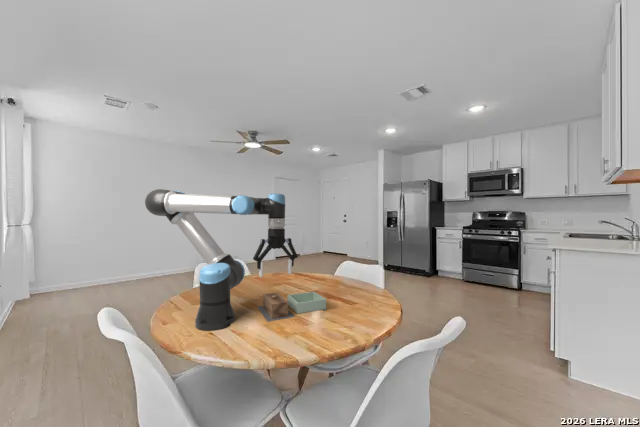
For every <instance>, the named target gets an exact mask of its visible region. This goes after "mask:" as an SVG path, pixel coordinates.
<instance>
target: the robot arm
mask: <svg viewBox="0 0 640 427" xmlns="http://www.w3.org/2000/svg"><path fill="white" fill-rule="evenodd" d="M144 204H145V207H146V210H147V211H148V212H149V213H151V214H152V215H155V216H157V217H158V216H159V217H166V218H167V219H168V221H169V223H170V224H171V225H176V226H178V228H179V229H180V230H181V232H182V233H183V235H185V237H186V238H187V240H188V241H189V242H190V243H191V244H192V246H193V247H194V249H195V250H196V251H197V253H198V254H200V257H202V259H203V260H204V261H205V262H206V264H207V265H204V266H202V267H201V269H200V271H199V278H198V280H199V308H198V310H197V314H196V316H195V320H194V327H195V328H197V329H198V330H200V331H215V330H221V329H224V328H227V327H229V326H231V324H232V323H234V322H235V319H236V316H235V314H236V313H235V312H234V309H233V305H232V303H231V290H232V289H233V288H235V287H237V286H239V285H240V284H241V282H242V281H243V280H244V278H245V273H246V271H245V267H244V265H243V263H241V261H239V260H236V259H234V258H233V256H232V255H231V254H229V253H225V252H224V251H223V250H222V248H221V247H220V245H219V244H218V242H217V241H216V240H215V239H214V237H212V236H211V233H209V231H208V230H207V229H206V227H205V226H204V225H203V224H202V222H201V221H200V220H199V218H198V217H197V216H196V215H195V214H198V213H199V214H222V215H223V214H226V215H240V216H247V215H250V216H251V215H259V216H260V215H266V216H267V217H268V219H267V227H268V228H267V239H264V238H261V239H260V243H259V246H258V248H257V249H256V252H255V254H254V255H253V257H252V259H253V260H254V261H255V262H256V266H257V268H256V269H258V272H259V273H258V274H259V275H258V276H259V277H260V278H263V277H264V273H263V272H264V262H263V261H262V260H264V258H265V257H266V255H268V253H269V252H270V251H271V250H272V249H273V250H275V249H280V250H281V249H282V251H283V252H284V253H285V254H286V255H287V258H288V259H287V261H288V262H287V274H289V275H292V274H293V269H292V268H293V267H294V265H295V264H294V262H295V259H297V258H298V253H297V252H296V249H295V247H294V246H293V242H292V238H290V237H288V238H285V236H286V229H285V227H286V196H285V194H284V193H269V194H268V197H265V198H264V197H253V196H248V195H244V194H243V195H226V194H225V195H222V194H221V195H220V194H216V195H215V194H194V193H192V194H190V193H184V192H182V191H179V190H168V189H163V188H162V189H160V188H159V189H158V188H157V189H154V190H152V191H150V192H148V194H147V195H146V197H145V200H144ZM266 243H267V246H266V248H265V249H264V247H265V245H266ZM286 243H287V246H288V247H289V250H290V251H289V250H288V248H287V247H286V246H285V244H286ZM263 249H264V250H263ZM262 251H263V252H262Z"/></svg>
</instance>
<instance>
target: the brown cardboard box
mask: <svg viewBox="0 0 640 427" xmlns="http://www.w3.org/2000/svg"><path fill="white" fill-rule="evenodd" d="M262 302H263V303H262V306H263V307H264V309H265V310H266V311H267V313H268V314H269V315H270V317H271V318H272V319H275V318H281V317H286V316H288V310H289V305H288V301H287V299H285V298H284V297H283V296H282V295H281V294H280V293H279V292H271V293H263V294H262Z"/></svg>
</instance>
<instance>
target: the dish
mask: <svg viewBox="0 0 640 427" xmlns="http://www.w3.org/2000/svg"><path fill="white" fill-rule="evenodd" d="M286 297H287V299H286V301H288V307H289V308H290V309H292V310H293V311H294V312H295V313H296V314H297V315H298V314H299V315H300V314H304V313H310V312H317V311H327V298H325V297H323V296H322V295H320V294H318V293H317V292H315V291H307V292H302V293H301V292H300V293H292V294H287V296H286Z"/></svg>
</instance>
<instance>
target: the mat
mask: <svg viewBox="0 0 640 427" xmlns="http://www.w3.org/2000/svg"><path fill="white" fill-rule="evenodd" d="M256 307H257V309H258V311H259V312H260V314H262V316H263V318H264V319H265V320H266V322H267V323H268V322H273V321H275V322H276V321H280V320H286V319H291V318H296V316H295V315H294V314H293V313H292V311H290V309H288V316H286V317H281V318H275V319H272V318H271V317H270V315H269V314H268V313H267V311H266V310H265V309H264V307H263V305H258V306H257V305H256Z"/></svg>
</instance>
